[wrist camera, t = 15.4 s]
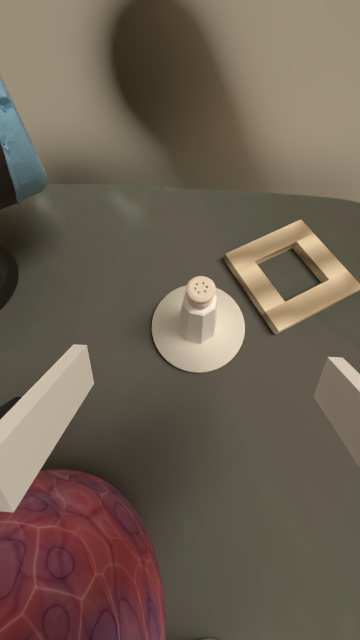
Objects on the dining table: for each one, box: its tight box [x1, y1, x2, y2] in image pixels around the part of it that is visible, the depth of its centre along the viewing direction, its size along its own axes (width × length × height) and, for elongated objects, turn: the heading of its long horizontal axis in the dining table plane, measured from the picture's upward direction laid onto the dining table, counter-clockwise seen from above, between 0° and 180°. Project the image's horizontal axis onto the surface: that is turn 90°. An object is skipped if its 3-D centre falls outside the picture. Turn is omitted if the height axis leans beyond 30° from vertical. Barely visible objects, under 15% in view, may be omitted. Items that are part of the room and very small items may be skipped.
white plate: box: [152, 285, 245, 373], centre depth 32 cm, size 13×13×1 cm
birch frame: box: [224, 220, 360, 335], centre depth 33 cm, size 14×14×2 cm
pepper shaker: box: [178, 276, 217, 344], centre depth 26 cm, size 5×5×11 cm
